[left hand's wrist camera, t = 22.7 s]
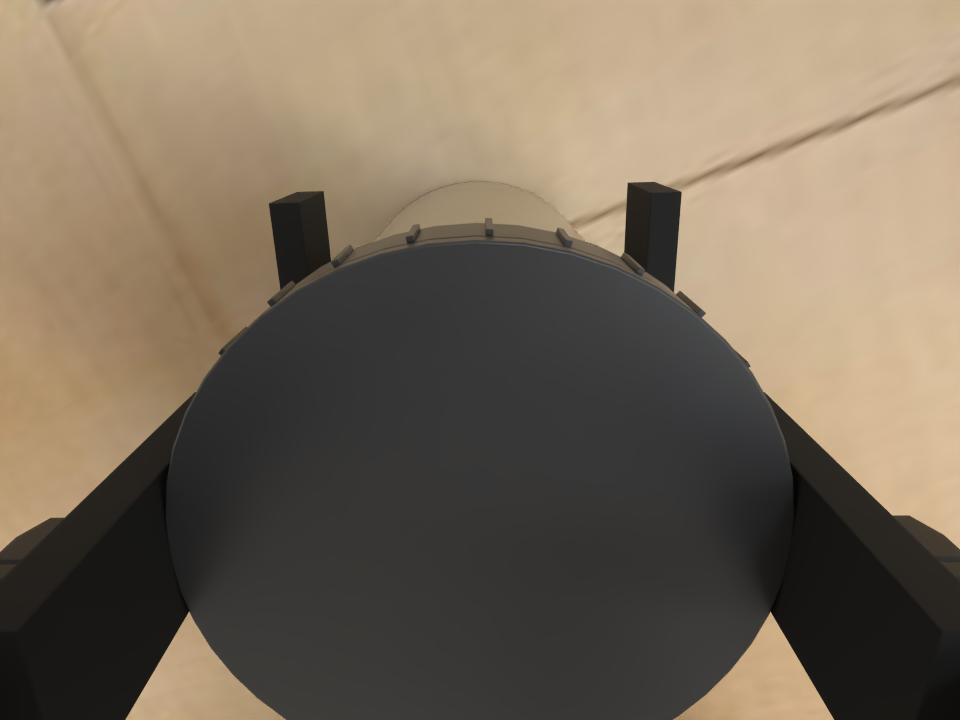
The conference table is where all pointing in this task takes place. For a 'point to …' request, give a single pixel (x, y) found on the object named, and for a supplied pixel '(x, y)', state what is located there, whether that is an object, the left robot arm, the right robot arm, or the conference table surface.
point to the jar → (479, 209)
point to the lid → (479, 488)
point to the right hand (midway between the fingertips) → (474, 192)
